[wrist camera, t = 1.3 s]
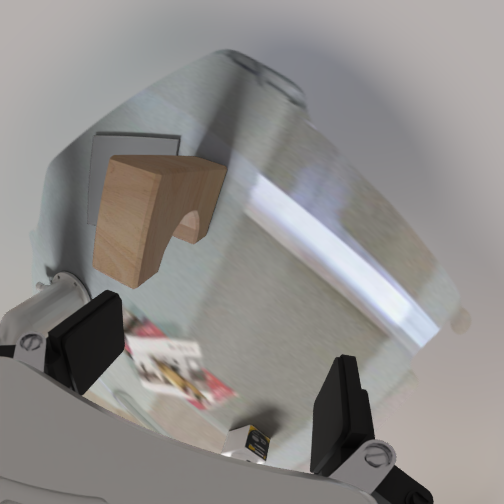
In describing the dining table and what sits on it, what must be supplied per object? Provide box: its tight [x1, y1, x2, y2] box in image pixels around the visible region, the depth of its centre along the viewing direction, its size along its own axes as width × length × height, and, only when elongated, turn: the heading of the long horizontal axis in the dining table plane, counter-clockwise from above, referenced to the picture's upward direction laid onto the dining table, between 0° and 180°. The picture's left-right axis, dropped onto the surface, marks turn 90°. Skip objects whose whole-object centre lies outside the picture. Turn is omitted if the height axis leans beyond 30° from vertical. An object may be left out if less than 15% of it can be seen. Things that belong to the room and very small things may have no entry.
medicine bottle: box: [221, 425, 270, 464], centre depth 49 cm, size 7×7×12 cm
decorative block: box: [93, 155, 227, 289], centre depth 31 cm, size 11×6×20 cm, turn 160°
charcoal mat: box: [87, 135, 180, 226], centre depth 42 cm, size 17×16×1 cm
